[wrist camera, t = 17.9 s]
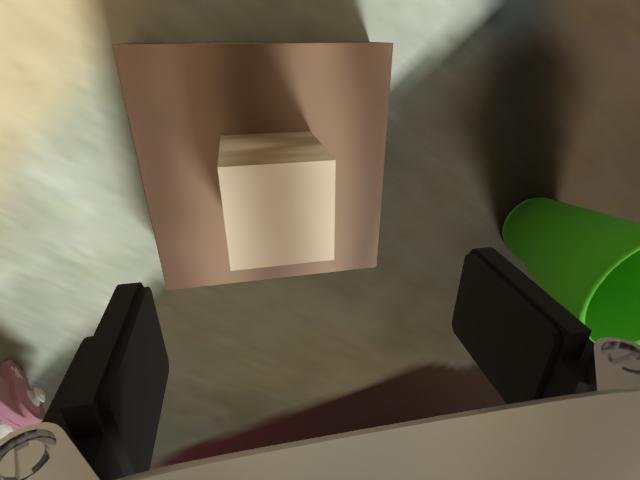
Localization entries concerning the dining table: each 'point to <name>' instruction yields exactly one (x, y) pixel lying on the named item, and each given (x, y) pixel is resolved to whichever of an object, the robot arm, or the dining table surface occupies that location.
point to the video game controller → (18, 400)
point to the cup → (581, 262)
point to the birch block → (277, 199)
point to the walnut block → (253, 118)
